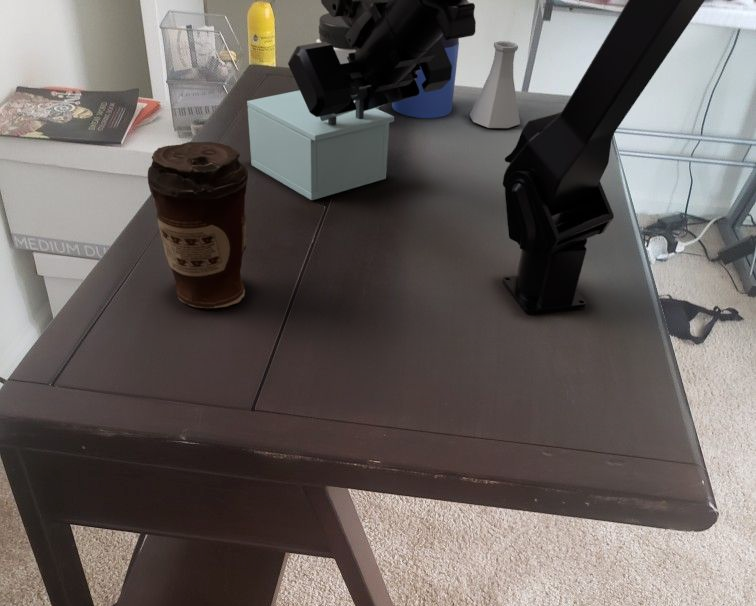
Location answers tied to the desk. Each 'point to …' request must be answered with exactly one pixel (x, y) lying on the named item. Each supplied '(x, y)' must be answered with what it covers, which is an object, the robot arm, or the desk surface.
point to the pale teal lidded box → (317, 157)
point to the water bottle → (432, 101)
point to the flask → (498, 91)
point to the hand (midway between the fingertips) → (339, 112)
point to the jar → (335, 36)
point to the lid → (298, 117)
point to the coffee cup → (201, 219)
